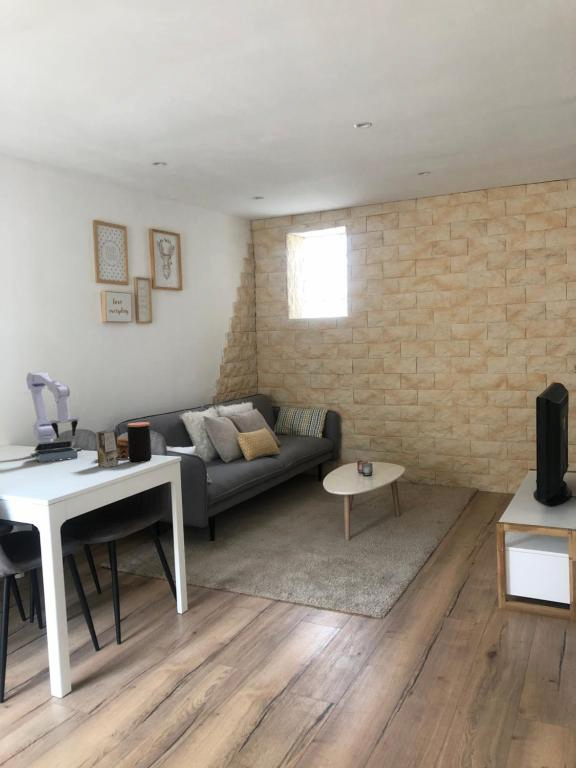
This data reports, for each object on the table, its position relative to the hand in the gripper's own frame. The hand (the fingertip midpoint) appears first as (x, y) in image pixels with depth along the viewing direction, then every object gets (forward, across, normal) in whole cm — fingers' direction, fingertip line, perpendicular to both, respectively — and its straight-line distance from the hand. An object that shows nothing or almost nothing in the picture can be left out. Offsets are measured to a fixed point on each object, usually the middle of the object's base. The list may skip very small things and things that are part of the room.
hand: (65, 436), depth 321 cm
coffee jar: (+14, +27, -34) cm, 46 cm away
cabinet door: (+4, -5, +4) cm, 7 cm away
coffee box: (+14, +11, -36) cm, 40 cm away
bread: (+13, +23, -18) cm, 32 cm away
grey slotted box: (+11, -5, +4) cm, 12 cm away
